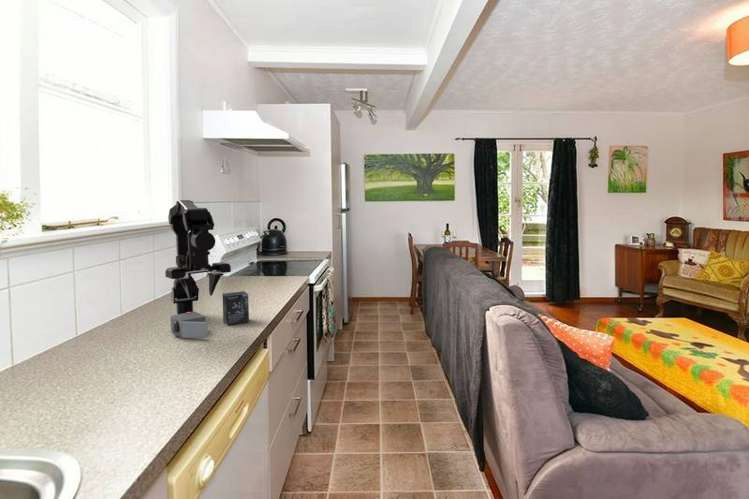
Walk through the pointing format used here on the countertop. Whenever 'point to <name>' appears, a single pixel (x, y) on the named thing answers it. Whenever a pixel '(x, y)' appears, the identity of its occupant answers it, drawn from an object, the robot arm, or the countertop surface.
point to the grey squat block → (184, 320)
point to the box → (235, 308)
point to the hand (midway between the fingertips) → (200, 297)
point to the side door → (193, 329)
